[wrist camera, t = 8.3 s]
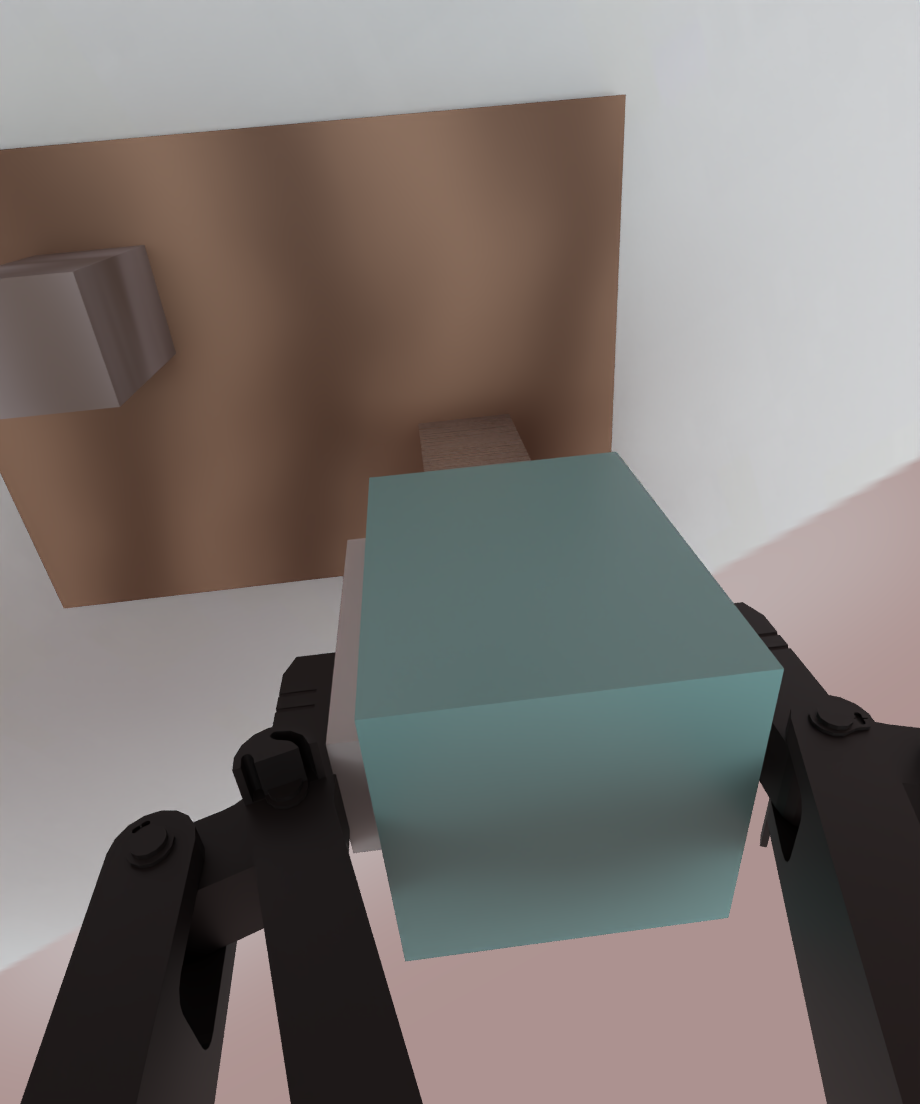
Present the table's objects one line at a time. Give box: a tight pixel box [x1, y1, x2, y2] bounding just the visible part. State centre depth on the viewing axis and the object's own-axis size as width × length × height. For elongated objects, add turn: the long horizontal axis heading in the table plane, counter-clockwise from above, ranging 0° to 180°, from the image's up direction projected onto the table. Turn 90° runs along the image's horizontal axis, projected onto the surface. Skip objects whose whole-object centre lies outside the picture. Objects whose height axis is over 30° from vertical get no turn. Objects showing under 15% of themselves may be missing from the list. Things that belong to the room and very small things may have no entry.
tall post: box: [419, 414, 531, 472], centre depth 19 cm, size 3×3×8 cm
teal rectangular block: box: [354, 452, 784, 961], centre depth 14 cm, size 6×6×8 cm
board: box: [0, 95, 626, 608], centre depth 19 cm, size 20×14×6 cm
